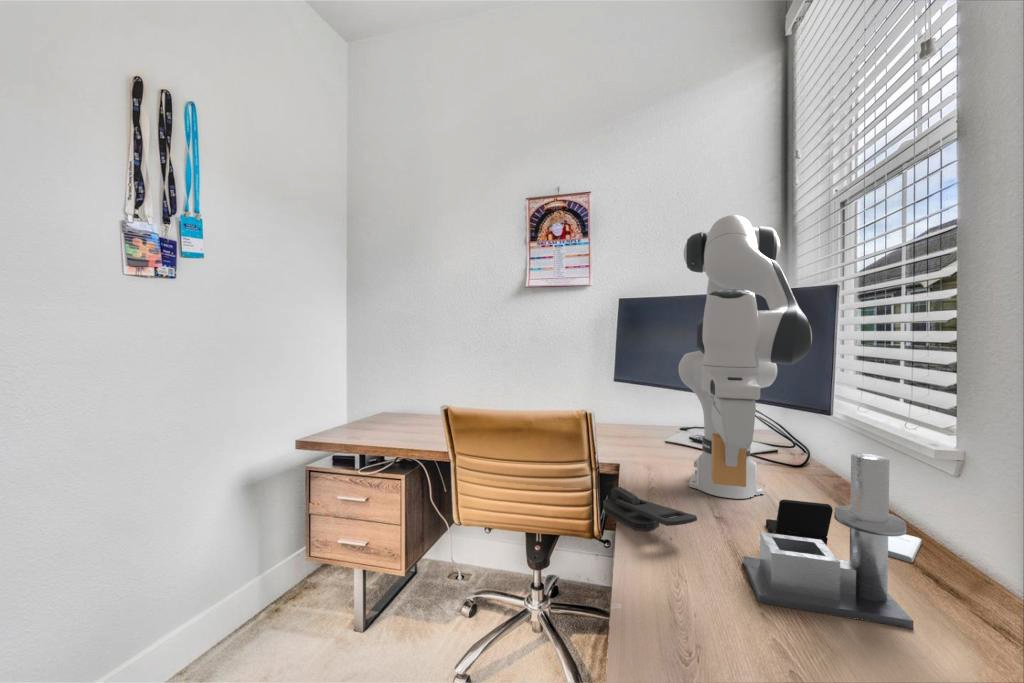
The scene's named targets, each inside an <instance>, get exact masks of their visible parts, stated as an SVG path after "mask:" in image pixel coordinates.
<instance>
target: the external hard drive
mask: <svg viewBox="0 0 1024 683" xmlns="http://www.w3.org/2000/svg"><path fill="white" fill-rule="evenodd" d="M921 545H922V539H921V538H919V537H917V536H913V535H911V534H910V535H909V534H907V533H906V534H905V535H902V536H888V557H890V558H893V559H897V560H900V561H904V562H907V563H911V564H913V562H914V560H915V558H916V557H917V556H916V555H917V554H918V552H919V549H920V547H921Z"/></svg>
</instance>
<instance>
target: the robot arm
mask: <svg viewBox="0 0 1024 683" xmlns="http://www.w3.org/2000/svg"><path fill="white" fill-rule="evenodd" d="M780 250H781V241H780V237H779V236H778V234H777V231H776V230H775V229H774V228H773V227H768V226H758V227H753V226H752V223H751V222H750V221H749V220H748V219H747V218H746V217H744V216H741V215H736V214H733V215H732V214H731V215H726V216H723V217H720V218H719V219H718V220H716V221H715V222H714V223H713V225H712V226H711V228H710V230H709V231H707V232H704V231H700V232H697V233H693V234H691V236H689V237H688V238H687V240H686V243H685V245H684V249H683V259H684V260H683V261H684V263H685V265H686V267H687V269H688V270H690V271H691V272H695V273H705V274H706V276H707V278H708V281H707V288H706V301H705V304H704V310H703V317H702V318H700V320H698V322H696V326H697V327H696V349H697V350H696V351H692V352H687V353H685V354H684V355H683V356H682V358H681V359H680V361H679V363H678V375H679V378H680V380H681V381H682V383H683V384H684V385H685V386H686V387H687V388H689V389H690V390H691V391H692V392H693V393H694V394H695V395H696V396H697V399H698V400H699V402H700V404H701V408H702V412H703V413H702V414H703V426H704V431H703V433H704V435H703V437H702V441H701V446H702V449H701V450H702V452H701V454H700V455H699V456H698V457H697V459H695V458H694V459H693V467H694V468H696V469H694V472H693V473H692V476H691V478H690V480H689V482H688V487H690V488H693V489H697V490H699V491H702V492H704V493H706V494H708V495H712V496H716V497H720V498H726V499H727V498H728V499H736V500H737V499H738V500H740V499H741V500H742V499H750V497H751V498H753V497H755V496H754V495H756V496H761V495H760V494H763V495H764V494H765V492H764V489H763V488H761V487H760V486H759V485H758V479H757V478H758V474H757V472H758V471H757V463H756V462H755V460H753V459H752V458H751V457H750V455H751V450H752V448H751V447H752V444H753V440H754V439H753V438H754V432H755V431H754V430H755V421H756V420H755V419H756V410H757V409H756V406H757V405H756V400H760V399H761V389H764V388H768V387H770V386H772V384H773V383H774V382H775V380H776V378H777V376H778V365H779V364H780V365H787V366H788V365H789V366H792V365H794V364H795V363H797V362H799V361H800V360H802V359H803V358H805V356H806V355H808V354H809V352H810V351H811V348H812V343H813V342H812V341H813V333H812V327H811V325H810V322H809V320H808V318H807V316H806V315H805V313H804V312H803V311H802V309H801V308H800V306H799V304H798V301H797V300H796V298H795V295H794V293H793V291H792V289H791V286H790V284H789V282H788V279H787V277H786V276H785V274H784V271H783V269H782V267H781V266H780V264H779V263H778V262H777V261H776V259H777V258H778V256H779V254H780V252H781V251H780ZM756 295H759V296H760V297H762V298H764V299H765V301H766V304H767V307H768V309H769V310H768V309H766V310H765V309H764V310H762V309H761V310H760V309H759V310H758V303H757V298H756ZM777 364H778V365H777ZM712 433H715V434H719V435H720V437H721V439H722V440H723V442H724V444H725V453H724V458H725V459H724V462H725V464H726V465H727V466H730V467H736V466H737V457H738V453H739V449H740V448H746V449H747V450H746V487H740V486H730V485H721V484H714V483H713V481H712V478H711V460H712Z"/></svg>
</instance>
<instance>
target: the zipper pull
mask: <svg viewBox="0 0 1024 683" xmlns="http://www.w3.org/2000/svg"><path fill="white" fill-rule="evenodd" d="M602 503H603V504H602V507H603V508H602V509H603V512H604V514H606V515H607V516H609V517H610V518H612V519H614V520H616V521H617V522H619V523H621V524H623V525H624V526H626V527H628V528H630V529H631V530H633V531H639V532H640V531H641V532H650V531H655V530H656V529H657V528H659V527H660V524H661V525H664V526H666V527H672V526H673V527H674V526H679V525H680V526H682V525H687V524H691V523H695V522H697V521H698V518H697V517H698V516H697V515H694V514H691V513H688V512H685V511H681V510H678V509H674V508H671V507H668V506H664V505H660V504H657V503H653V502H651V501H647V500H644V499H641V498H639V497H638V496H637V495H635V494H634V493H633V492H631V491H628V490H627V489H625V488H623V487H622V486H621V487H620V486H619V487H613V488H611V490H610V496H609V498H606V499H604V500H602Z"/></svg>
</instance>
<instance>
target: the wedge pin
mask: <svg viewBox="0 0 1024 683" xmlns="http://www.w3.org/2000/svg"><path fill="white" fill-rule="evenodd" d="M746 450H747V449H746V448H740V449H739V453H738V457H737V466H736V467H730V466H727V465H726V464H725V462H724V459H725V458H724V453H725V444H724V442H723V440H722V439H721V437H720V435H719V434H715V433H712V460H711V478H712V481H713V483H714V484H721V485H730V486H740V487H746Z"/></svg>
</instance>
